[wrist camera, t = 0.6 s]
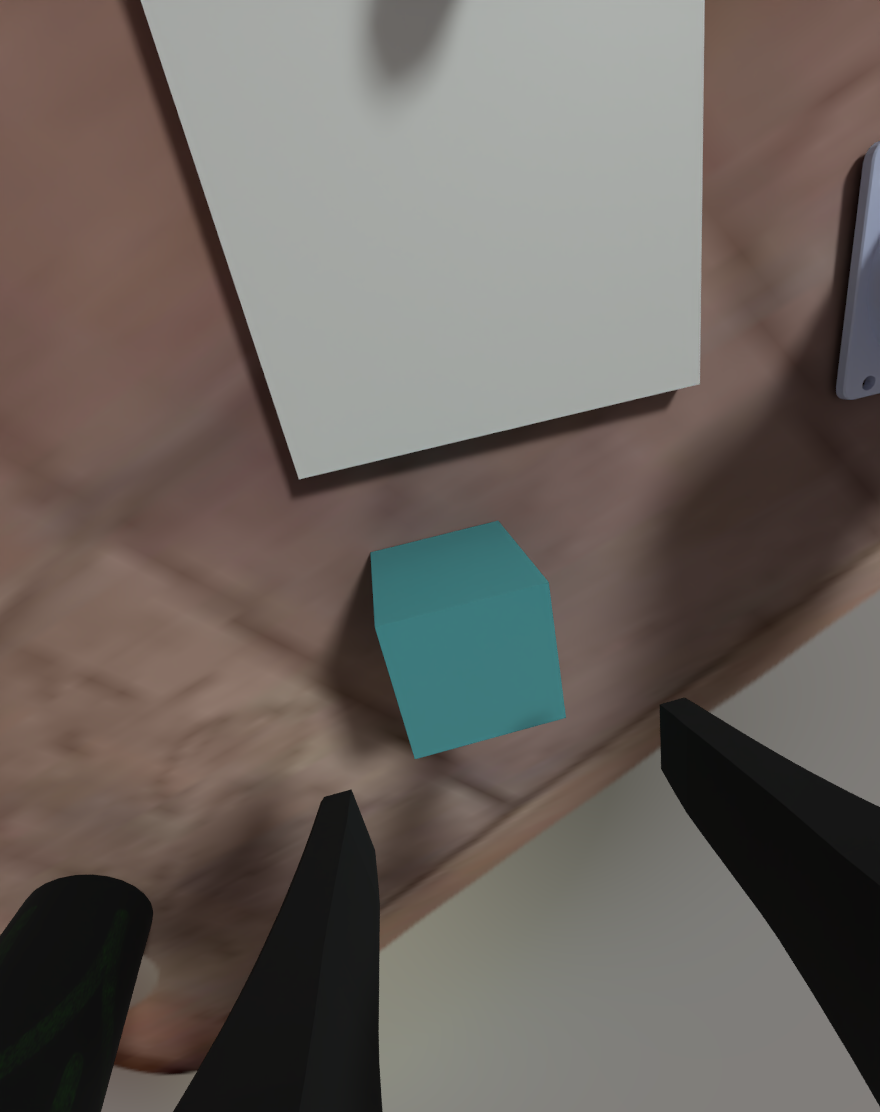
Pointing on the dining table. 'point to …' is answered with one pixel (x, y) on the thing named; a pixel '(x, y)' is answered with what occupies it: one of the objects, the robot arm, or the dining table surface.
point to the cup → (68, 991)
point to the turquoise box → (466, 637)
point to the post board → (448, 206)
